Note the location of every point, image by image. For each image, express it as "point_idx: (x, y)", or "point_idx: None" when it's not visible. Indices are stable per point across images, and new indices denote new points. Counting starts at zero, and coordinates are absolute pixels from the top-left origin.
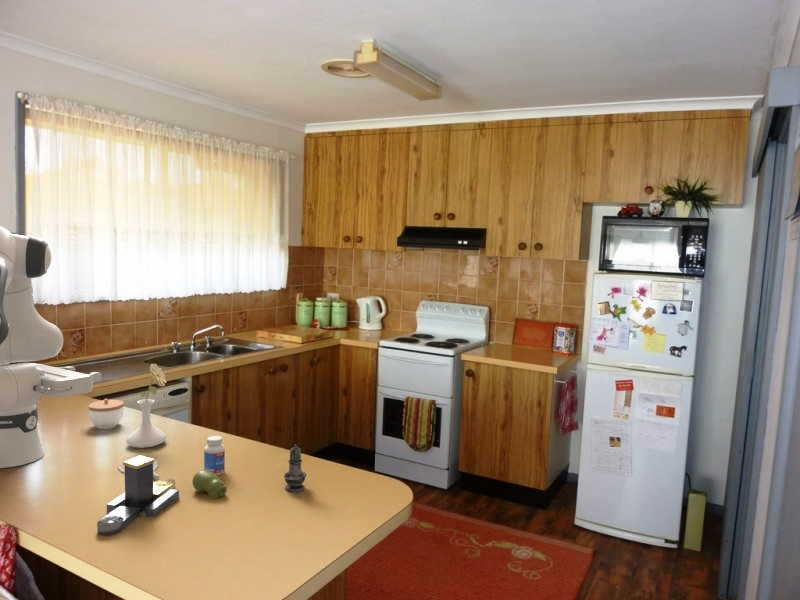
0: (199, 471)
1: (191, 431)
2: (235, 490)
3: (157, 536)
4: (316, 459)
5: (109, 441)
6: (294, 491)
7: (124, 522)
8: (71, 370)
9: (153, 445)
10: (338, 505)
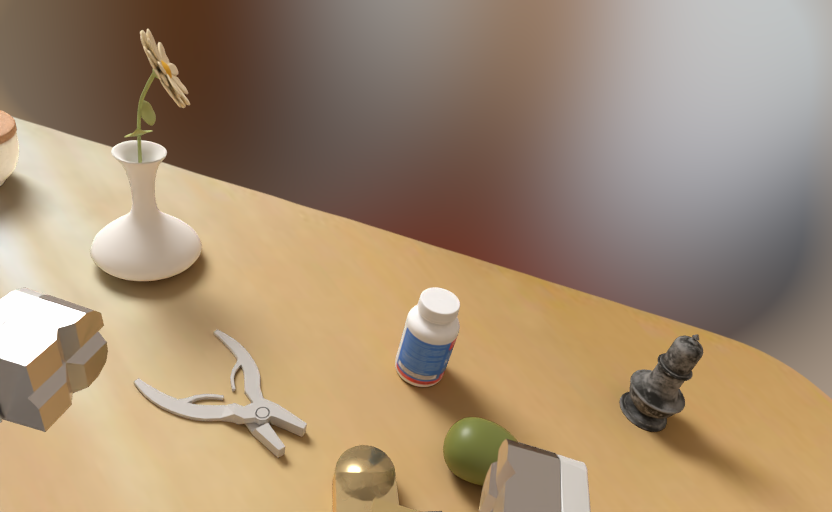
0: (470, 433)
1: (228, 199)
2: None
3: None
4: (570, 289)
5: (24, 249)
6: (659, 427)
7: None
8: (66, 356)
9: (183, 270)
10: (784, 468)
